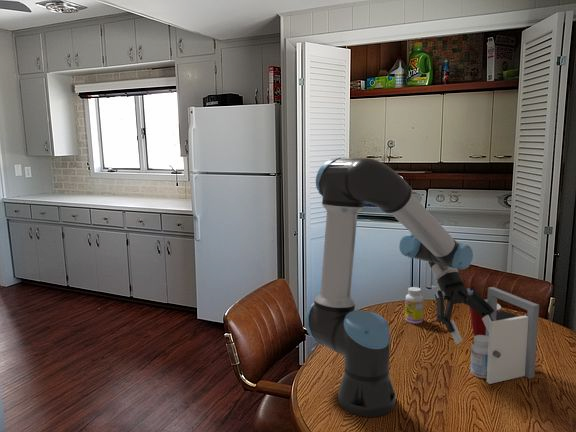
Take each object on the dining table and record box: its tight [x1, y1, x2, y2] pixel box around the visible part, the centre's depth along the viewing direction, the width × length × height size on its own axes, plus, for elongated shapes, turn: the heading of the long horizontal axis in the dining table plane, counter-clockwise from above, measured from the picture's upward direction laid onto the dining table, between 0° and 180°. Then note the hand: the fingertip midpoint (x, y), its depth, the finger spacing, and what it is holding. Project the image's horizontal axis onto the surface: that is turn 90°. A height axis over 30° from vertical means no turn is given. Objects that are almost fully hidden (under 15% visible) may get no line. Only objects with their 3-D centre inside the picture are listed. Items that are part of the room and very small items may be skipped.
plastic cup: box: [468, 298, 502, 337], centre depth 157 cm, size 11×11×12 cm
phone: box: [496, 309, 518, 321], centre depth 172 cm, size 8×1×15 cm
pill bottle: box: [469, 335, 489, 379], centre depth 131 cm, size 6×6×11 cm
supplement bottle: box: [404, 286, 424, 325], centre depth 171 cm, size 7×7×13 cm
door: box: [486, 315, 528, 385], centre depth 126 cm, size 13×2×18 cm, turn 108°
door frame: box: [486, 286, 540, 380], centre depth 135 cm, size 2×18×22 cm, turn 18°
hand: (477, 339), depth 133 cm, fingers open, 12 cm apart
